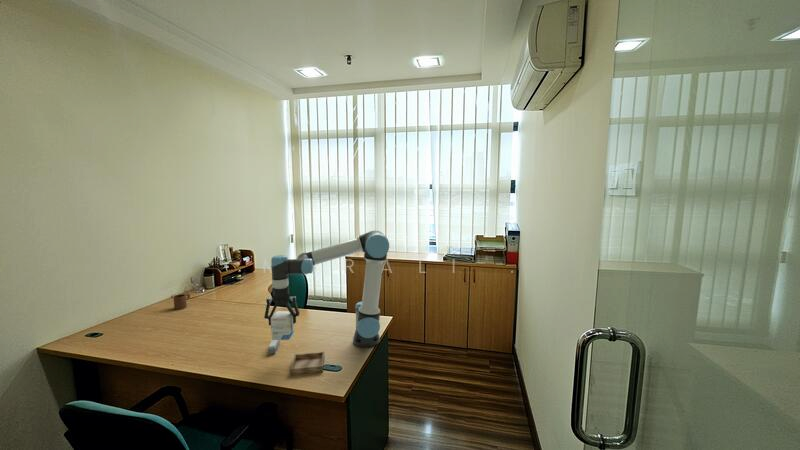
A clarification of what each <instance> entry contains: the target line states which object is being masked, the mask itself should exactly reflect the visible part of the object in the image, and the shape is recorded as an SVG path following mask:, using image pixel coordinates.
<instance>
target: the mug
mask: <svg viewBox="0 0 800 450" xmlns="http://www.w3.org/2000/svg"><path fill="white" fill-rule="evenodd" d="M190 298H191V294H190V293H187V292H186V293H185V294H182V293H181V294H177V295H174V296H173V308H174V310H177V311H178V310H179V311H180V310H184V309H186V308H187V306H188V304H187V301H188V300H189V299H190Z"/></svg>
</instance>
